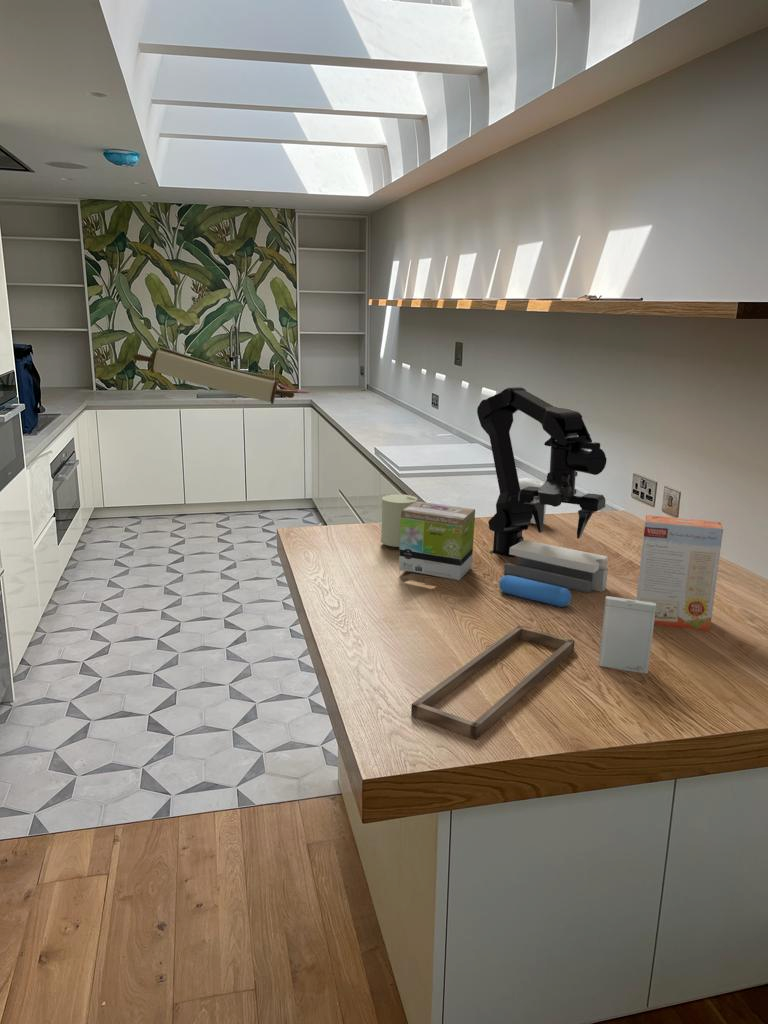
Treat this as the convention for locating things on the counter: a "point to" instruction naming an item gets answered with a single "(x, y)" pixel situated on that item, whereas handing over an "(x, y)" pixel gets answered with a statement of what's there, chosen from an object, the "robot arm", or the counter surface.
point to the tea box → (436, 540)
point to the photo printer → (534, 483)
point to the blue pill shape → (535, 590)
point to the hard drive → (627, 634)
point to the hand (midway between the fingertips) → (559, 535)
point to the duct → (558, 575)
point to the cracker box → (680, 569)
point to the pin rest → (460, 725)
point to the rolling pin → (213, 375)
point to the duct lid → (559, 556)
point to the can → (393, 517)
